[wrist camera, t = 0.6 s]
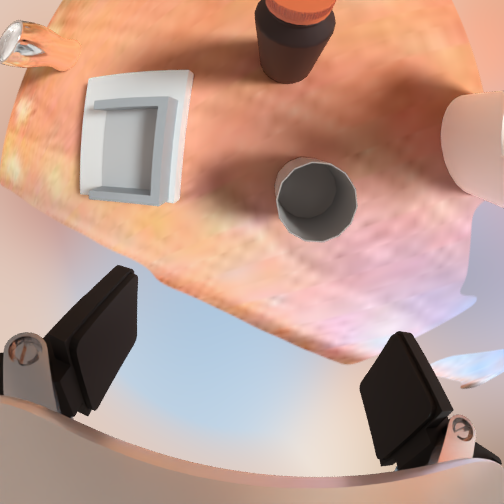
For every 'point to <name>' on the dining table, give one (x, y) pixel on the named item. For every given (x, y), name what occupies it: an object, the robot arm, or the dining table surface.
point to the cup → (314, 199)
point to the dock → (135, 136)
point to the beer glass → (37, 47)
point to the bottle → (292, 36)
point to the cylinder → (476, 144)
